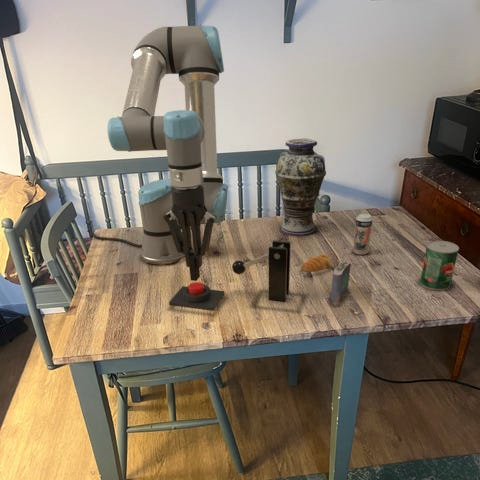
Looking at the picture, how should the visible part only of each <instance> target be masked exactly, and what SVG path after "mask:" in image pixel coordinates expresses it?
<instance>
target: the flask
mask: <svg viewBox="0 0 480 480" xmlns="http://www.w3.org/2000/svg"><path fill="white" fill-rule="evenodd" d="M336 263H338V264H337V265H336V266H335V268H334V270H333V272H332V282H331V293H330V300H331V302H334V303H338V302H340V300H341V298H342V296H343V294H344V293H346V291H348V289H349V281H350V273H351V266H352V263H351V261H349V260H342V259H338V260H337V262H336Z"/></svg>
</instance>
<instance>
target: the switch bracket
mask: <svg viewBox="0 0 480 480" xmlns="http://www.w3.org/2000/svg"><path fill="white" fill-rule="evenodd" d="M291 243H292V241H286V240H285V241H284V240H272V246H268V253H269V259H268V301H271V302H279V303H286V302H287V296H289V295H290V279H291ZM282 244H284V246H285V248H281V247H277V246H279V245H282Z"/></svg>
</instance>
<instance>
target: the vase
mask: <svg viewBox="0 0 480 480" xmlns="http://www.w3.org/2000/svg"><path fill="white" fill-rule="evenodd" d="M317 145H318V141H316V140H315V139H313V138H292V139H288V140H286V141H285V146H286V147H288V151H283V152H281V153H280V154H279V155H278V160H277V162H276V163H277V164H276V166H275V171H274V174H275V176H276V179H277V183H278V187H279V196H280V198H281V200H282V206H283V207H282V208H283V215H284V216H283V221H282V225H281V228H280V231H281V232H282V233H283V234H285V235H287V236H296V237H302V236H309V235H312V234H315V232H316V226H315V224H314V218H313V217H314V216H313V215H314V211H315V204H316V202H317V199H318V198H319V197H320V191H321V187H322V185H323V181H324V180H325V177H326V175H327V170H326V161H325V157H324V156H323V155H322V154H319V153H317V152H315V151H314V147H316V146H317Z"/></svg>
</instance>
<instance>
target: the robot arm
mask: <svg viewBox="0 0 480 480" xmlns="http://www.w3.org/2000/svg"><path fill="white" fill-rule="evenodd" d="M130 67H131V70H132V72H131V76H130V81H129V84H128V88H127V92H126V97H125V101H124V106H123V108H122V109H123V110H122V113H121V116H119V115H117V116H116V117H111V118H109V119H108V122H107V137H108V141H109V144H110V146H111V148H112V149H113V150H114V151H116V152H128V153H131V152H149V151H150V152H151V151H166V156H167V165H168V174H169V178H163V179H159V180H158V179H157V180H153V181H150V182H148V183H145V184H143V185H142V186H140V188H139V189H138V195H137V196H138V206H139V211H140V218H141V224H142V230H143V238H142V243H141V244H138V243H134V242H131V241H129V240H126V239H123V238H118V237H104V236H98V235H96V234H95V233H94V232H93V230H92V229H91V228H88V229H87V231H86V233H90V234H91V236H92V237H94V238H95V239H98V240H108V241H117V242H123V243H126V244H128V245H130V246H132V247H133V246H134V247H137V248H141V249H140V257H141V260H142V261H143V262H145V263H147V264H150V265H153V266H155V265H156V266H165V265H172V264H176V263H179V262H180V261H181V260H182V259H183V258H185V266H186V267H187V268H189V277H190V278H189V279H190V281H192V282H198V280H199V279H200V277H201V272H200V271H201V270H200V269H201V268H202V266H203V256H205V255H206V254H207V253H208V252H209V250H210V245H211V239H212V233H213V228H214V224H221V223H223V221H224V220H225V218H226V212H227V204H228V189H229V188H228V187H229V186H228V184H227V183H225V182H224V181H223V180H224V179H223V176H222V175H221V174H220V173H219V172H218V156H217V155H218V151H217V150H218V149H217V124H216V123H217V121H216V96H215V86H216V84H218V82H219V81H220V74H222V73H224V72H225V68H224V60H223V52H222V47H221V41H220V34H219V30H218V28H217V27H216V26H213V25H204V24H199V25H178V26H161V27H157V28H156V29H153V30H152V31H150V32H149V33H147V34H146V35H145V36H143V37H142V39H141V40H140V41H139V42H137V44H136V46H135V47H134V50H133V52H132V55H131V59H130ZM166 75H178V81H179V82H180V83H181V84H182V85H183V87H184V104H185V105H184V107H185V109H180V110H171V111H168V112H165V113H164V115H155V113H156V107H157V103H158V97H159V93H160V92H159V90H160V87H161V81H162V80H163V79H164V77H165V76H166ZM202 225H204V229H203V235H202V234H201V226H202Z"/></svg>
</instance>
